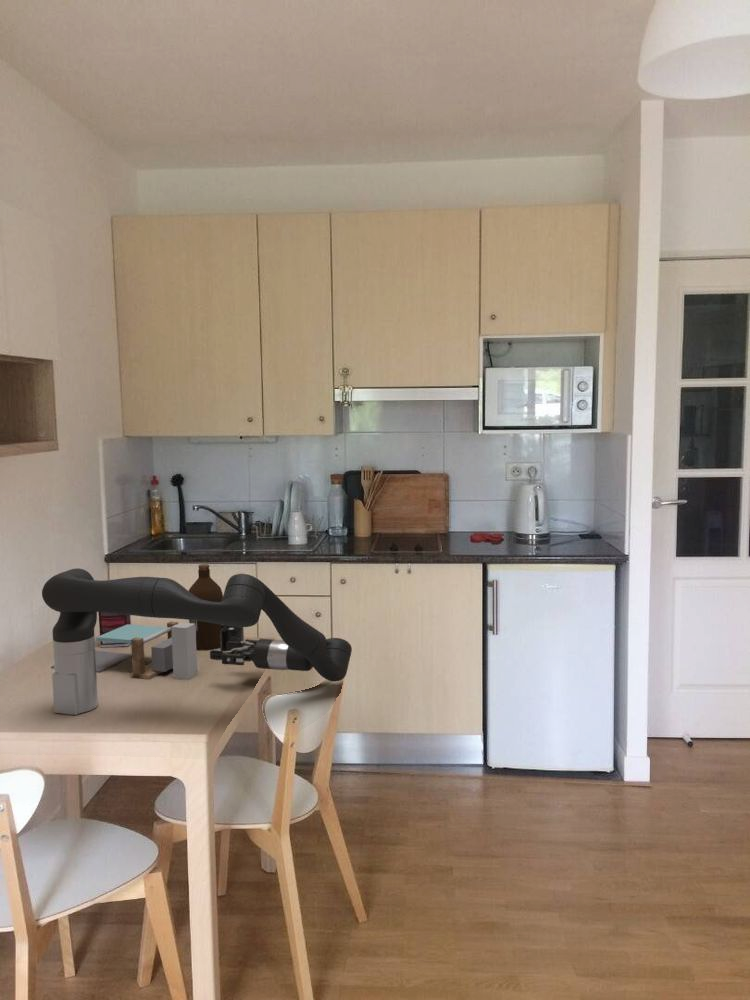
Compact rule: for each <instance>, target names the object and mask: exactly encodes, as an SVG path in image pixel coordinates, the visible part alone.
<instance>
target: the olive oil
mask: <svg viewBox="0 0 750 1000" xmlns="http://www.w3.org/2000/svg"><path fill="white" fill-rule="evenodd" d="M197 573H198V578H197V579H196V581H195V582H194V583H193V584H192V585H190V587H189V589H188V591H189V592H190V593H192V594H193V595H194V596H196V597H197V598H199V599H202V600H206V601H211V602H221V601H222V598H223V595H224V592H223V591H222V588H221V586H220V585H219V584H218V583H217V582H216V581H215V580H214V579H212V577H211V569H210V564H206V563H205V564H204V563H203V564H198V570H197ZM188 623H193V624H195V629H196V651H210V650H209V649H211V650H214V649H213V648H216V649H218V647H219V648H220V628H221V626H223V625H221V624H215V623H209V622H203V621H196V620H188Z"/></svg>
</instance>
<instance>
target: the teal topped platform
mask: <svg viewBox="0 0 750 1000" xmlns="http://www.w3.org/2000/svg"><path fill="white" fill-rule="evenodd" d="M170 631H171V627H167V626H155V625H142V624H141V625H140V624H131V625H128V624H127V625H124V626H122V627H120V628H117V629H115V630H113V631H110V632H108V633H105V634H103V635H101V636H100V635H99V636H96V638H95V641H96V642H100V641H105V642H117V643H130V645H131V639H133V638H135V637H136V638H143V643H144V644H146V643H149V642H150V641H152V640H155V639H157V638H159V637H161V636H163V635H165V634H167V632H170ZM150 649H151V650H150V651H151V652H150V653H151V663H152V671H162V673H164V672H165V673H166V672H168V671H169V670H172V669H173V652H172V637H171V638H169V639H168V638H166V639H165V640H163V641H160V642H159V643H157V644H155V645H153V646H151V648H150Z"/></svg>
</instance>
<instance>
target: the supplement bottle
mask: <svg viewBox="0 0 750 1000" xmlns="http://www.w3.org/2000/svg"><path fill="white" fill-rule="evenodd" d="M244 631H245V630H244V627H234V626H227V625H223V626H221V628H220V647H219V648H220V650H219V651H231V650H227V649H226V642H228V641H232V642H240V641H244V642H245V634H244V633H245V632H244ZM235 654H237V651H236V653H235ZM228 658H230V657H228Z"/></svg>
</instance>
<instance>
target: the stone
mask: <svg viewBox="0 0 750 1000" xmlns="http://www.w3.org/2000/svg"><path fill="white" fill-rule="evenodd" d="M171 630H172V652H173V668H172V671H173V679H175V680H185V679H186V681H189V680H191V679H192V678H194V677H195V675H196V676H197V675H198V658H197V653H198V652H197V650H196V629H195V624H193V623H189V622H178V624H177V625H174V626H172V627H171ZM190 678H191V679H190ZM187 679H188V680H187Z"/></svg>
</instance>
